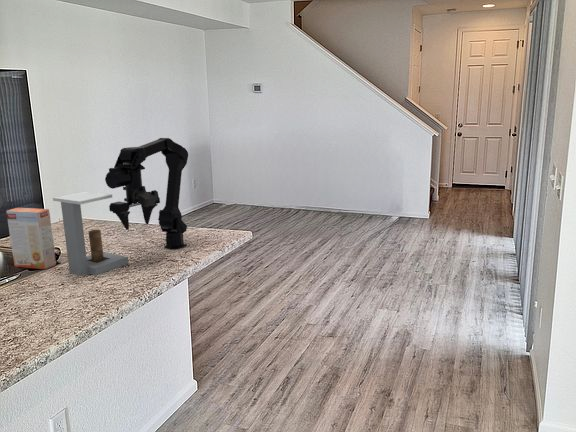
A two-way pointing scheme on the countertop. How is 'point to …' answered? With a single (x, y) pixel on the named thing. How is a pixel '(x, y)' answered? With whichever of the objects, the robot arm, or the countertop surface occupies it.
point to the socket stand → (75, 236)
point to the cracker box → (31, 238)
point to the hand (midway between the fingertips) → (137, 226)
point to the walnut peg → (96, 246)
